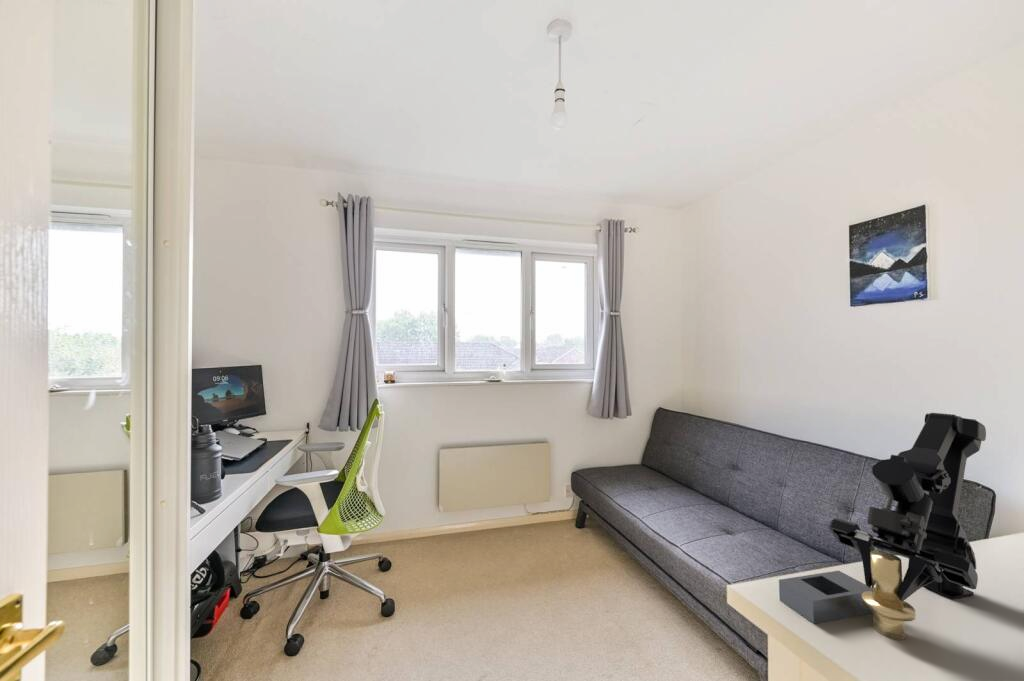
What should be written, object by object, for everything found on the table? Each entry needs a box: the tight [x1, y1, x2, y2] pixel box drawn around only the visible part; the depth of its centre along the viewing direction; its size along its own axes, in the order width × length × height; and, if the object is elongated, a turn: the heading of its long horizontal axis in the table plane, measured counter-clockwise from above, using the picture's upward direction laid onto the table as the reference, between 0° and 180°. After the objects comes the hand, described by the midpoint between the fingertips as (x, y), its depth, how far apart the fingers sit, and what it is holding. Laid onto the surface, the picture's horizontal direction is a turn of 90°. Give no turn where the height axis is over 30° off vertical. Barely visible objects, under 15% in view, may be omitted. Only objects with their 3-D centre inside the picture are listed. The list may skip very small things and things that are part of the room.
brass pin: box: [862, 550, 916, 641], centre depth 69 cm, size 7×7×13 cm
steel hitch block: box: [778, 570, 873, 624], centre depth 75 cm, size 15×7×4 cm, turn 102°
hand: (883, 592), depth 68 cm, fingers closed on brass pin, 4 cm apart
